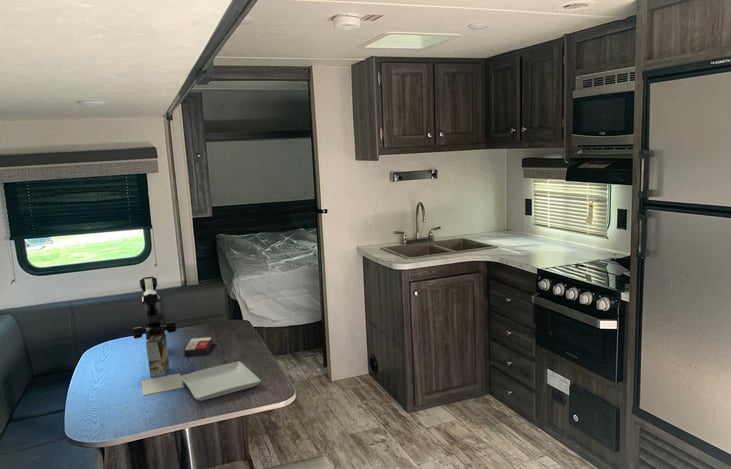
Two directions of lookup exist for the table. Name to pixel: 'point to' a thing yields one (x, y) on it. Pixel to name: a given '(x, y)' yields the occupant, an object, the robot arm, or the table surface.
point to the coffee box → (157, 355)
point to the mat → (161, 384)
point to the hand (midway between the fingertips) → (156, 346)
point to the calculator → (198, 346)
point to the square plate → (219, 380)
